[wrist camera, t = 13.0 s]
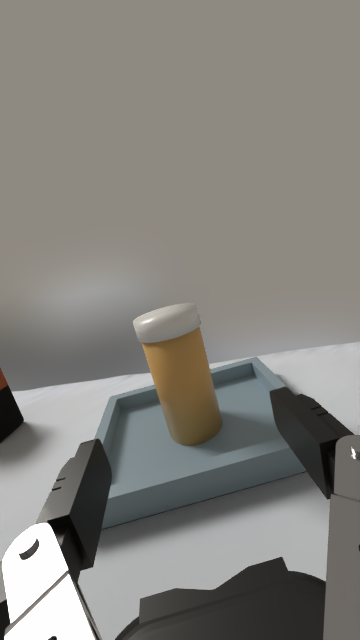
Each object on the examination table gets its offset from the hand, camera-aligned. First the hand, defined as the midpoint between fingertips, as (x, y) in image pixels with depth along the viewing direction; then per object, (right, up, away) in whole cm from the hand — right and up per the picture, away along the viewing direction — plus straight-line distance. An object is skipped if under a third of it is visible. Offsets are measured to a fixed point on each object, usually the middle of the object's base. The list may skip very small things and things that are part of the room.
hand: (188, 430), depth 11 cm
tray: (+1, -5, +12) cm, 13 cm away
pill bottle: (+1, -5, +12) cm, 13 cm away
